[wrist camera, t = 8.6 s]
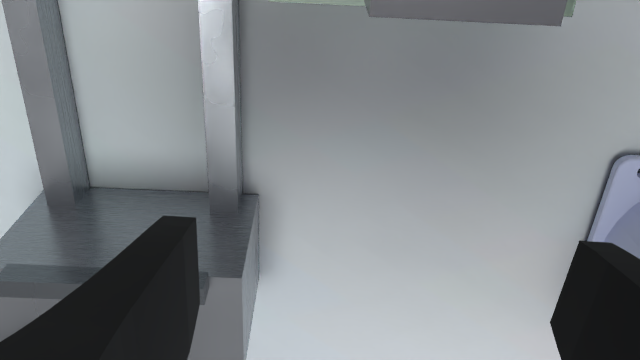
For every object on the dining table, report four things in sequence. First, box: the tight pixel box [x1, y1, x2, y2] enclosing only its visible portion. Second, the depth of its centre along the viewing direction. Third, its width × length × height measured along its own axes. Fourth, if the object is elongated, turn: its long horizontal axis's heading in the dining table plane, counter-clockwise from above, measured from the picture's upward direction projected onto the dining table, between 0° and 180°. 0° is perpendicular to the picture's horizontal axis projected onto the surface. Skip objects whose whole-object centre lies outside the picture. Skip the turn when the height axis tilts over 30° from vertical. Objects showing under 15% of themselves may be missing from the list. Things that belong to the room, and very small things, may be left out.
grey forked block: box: [0, 0, 259, 360], centre depth 18 cm, size 8×12×6 cm, turn 177°
